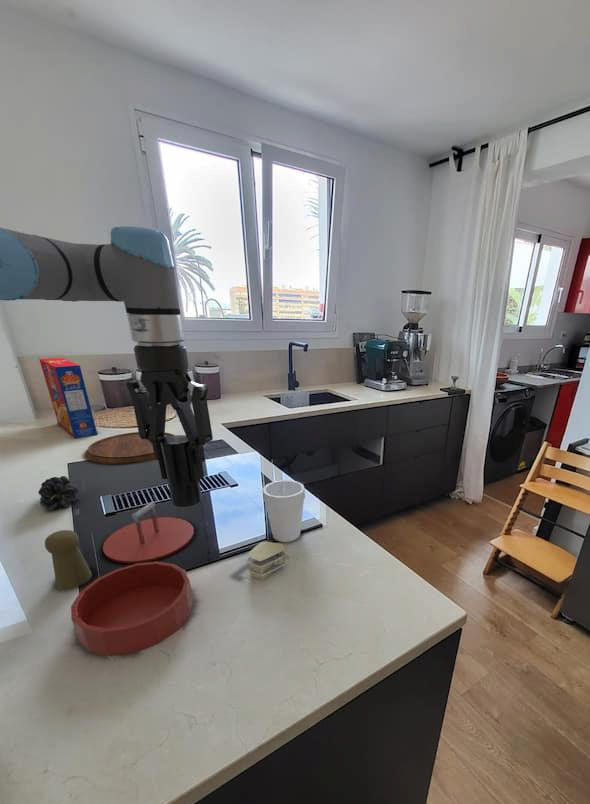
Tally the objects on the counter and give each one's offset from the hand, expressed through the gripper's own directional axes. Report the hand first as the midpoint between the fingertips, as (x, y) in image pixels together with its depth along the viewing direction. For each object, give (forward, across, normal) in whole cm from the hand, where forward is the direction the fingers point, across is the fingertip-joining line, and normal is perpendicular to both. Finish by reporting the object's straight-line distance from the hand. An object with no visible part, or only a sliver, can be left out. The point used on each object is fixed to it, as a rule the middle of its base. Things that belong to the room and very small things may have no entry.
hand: (183, 477), depth 71 cm
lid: (+21, -18, +9) cm, 30 cm away
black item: (+5, 0, 0) cm, 5 cm away
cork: (+22, -23, -7) cm, 33 cm away
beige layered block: (+22, +13, +4) cm, 26 cm away
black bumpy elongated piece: (+22, -54, +20) cm, 62 cm away
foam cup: (+22, +12, +18) cm, 31 cm away
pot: (+22, -4, -13) cm, 26 cm away
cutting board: (+22, -65, +62) cm, 93 cm away
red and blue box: (+22, -106, +78) cm, 133 cm away
